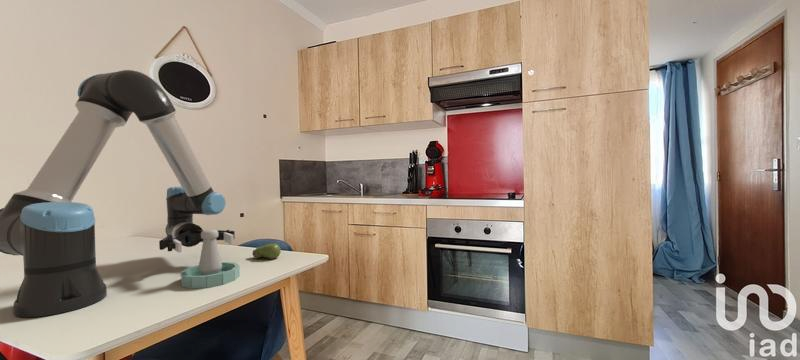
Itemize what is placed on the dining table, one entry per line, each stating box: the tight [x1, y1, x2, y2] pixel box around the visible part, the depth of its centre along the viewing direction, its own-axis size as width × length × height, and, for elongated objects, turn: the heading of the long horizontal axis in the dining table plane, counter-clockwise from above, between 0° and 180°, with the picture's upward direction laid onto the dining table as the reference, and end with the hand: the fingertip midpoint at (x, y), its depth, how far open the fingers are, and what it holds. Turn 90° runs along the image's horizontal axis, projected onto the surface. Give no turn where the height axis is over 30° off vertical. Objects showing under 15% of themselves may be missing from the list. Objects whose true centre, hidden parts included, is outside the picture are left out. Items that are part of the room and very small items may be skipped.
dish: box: [180, 261, 240, 289], centre depth 93 cm, size 14×14×3 cm
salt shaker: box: [198, 228, 222, 276], centre depth 93 cm, size 6×6×13 cm
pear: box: [252, 243, 282, 260], centre depth 115 cm, size 6×5×10 cm
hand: (207, 243), depth 96 cm, fingers open, 13 cm apart
